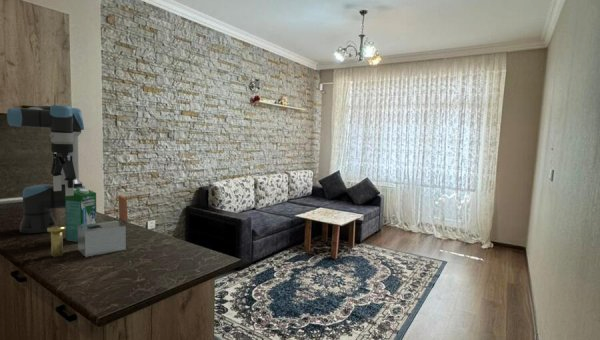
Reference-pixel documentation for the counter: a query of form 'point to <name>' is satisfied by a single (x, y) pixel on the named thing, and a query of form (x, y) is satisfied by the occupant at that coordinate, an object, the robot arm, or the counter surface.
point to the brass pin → (56, 239)
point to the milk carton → (79, 211)
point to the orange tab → (122, 209)
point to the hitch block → (101, 238)
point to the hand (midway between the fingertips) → (63, 193)
